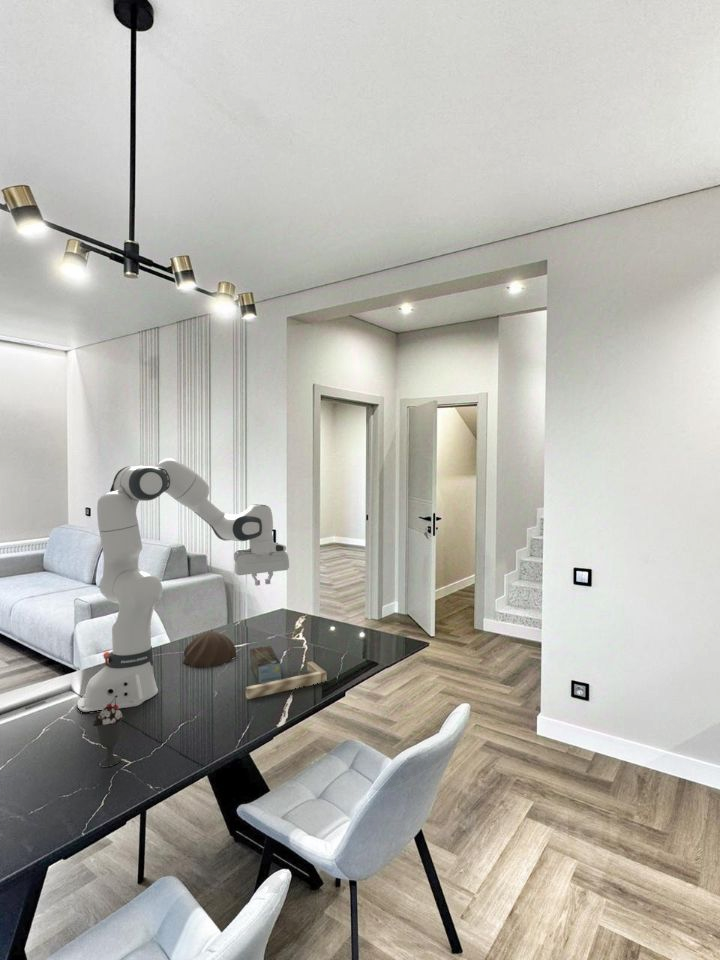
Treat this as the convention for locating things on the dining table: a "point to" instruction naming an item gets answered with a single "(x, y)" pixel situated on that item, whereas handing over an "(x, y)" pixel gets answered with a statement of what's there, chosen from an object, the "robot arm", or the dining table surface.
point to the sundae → (109, 731)
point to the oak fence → (288, 682)
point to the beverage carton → (265, 664)
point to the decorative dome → (209, 650)
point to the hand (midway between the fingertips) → (262, 584)
